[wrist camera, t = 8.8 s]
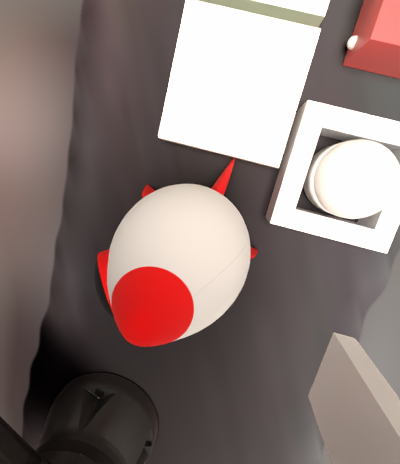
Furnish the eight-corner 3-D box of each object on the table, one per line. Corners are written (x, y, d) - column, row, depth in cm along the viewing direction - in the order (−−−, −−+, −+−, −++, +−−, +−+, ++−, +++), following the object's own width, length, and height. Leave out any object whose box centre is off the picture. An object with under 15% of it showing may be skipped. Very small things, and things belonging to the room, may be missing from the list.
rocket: (146, 184, 34) (-66, 216, 10) (234, 158, 32) (249, 117, 8) (173, 271, 36) (54, 484, 11) (258, 251, 34) (328, 447, 10)
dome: (359, 220, 31) (399, 234, 24) (294, 203, 32) (313, 212, 24) (384, 153, 30) (436, 147, 22) (315, 136, 30) (344, 124, 23)
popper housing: (368, 244, 33) (387, 253, 29) (265, 217, 33) (269, 223, 29) (411, 136, 30) (437, 131, 26) (298, 108, 31) (307, 99, 27)
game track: (275, 168, 32) (278, 167, 30) (163, 140, 33) (157, 137, 30) (364, -129, 26) (378, -160, 24) (225, -157, 27) (224, -190, 24)
